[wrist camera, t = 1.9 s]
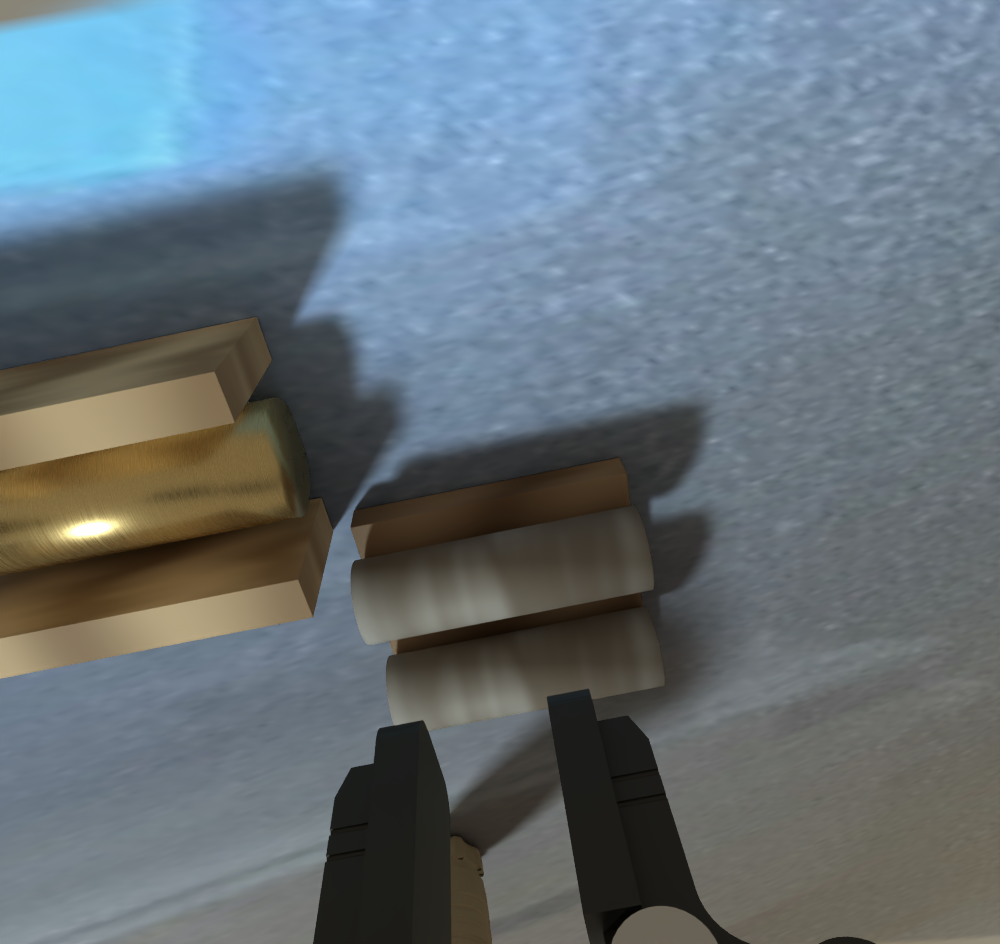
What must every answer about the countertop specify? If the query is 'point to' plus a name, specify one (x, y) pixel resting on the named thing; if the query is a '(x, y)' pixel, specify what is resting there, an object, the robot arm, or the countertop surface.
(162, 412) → the tan piece
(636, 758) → the robot arm
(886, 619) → the countertop surface
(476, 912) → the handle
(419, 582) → the roller stand
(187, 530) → the axle
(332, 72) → the countertop surface
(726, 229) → the countertop surface
